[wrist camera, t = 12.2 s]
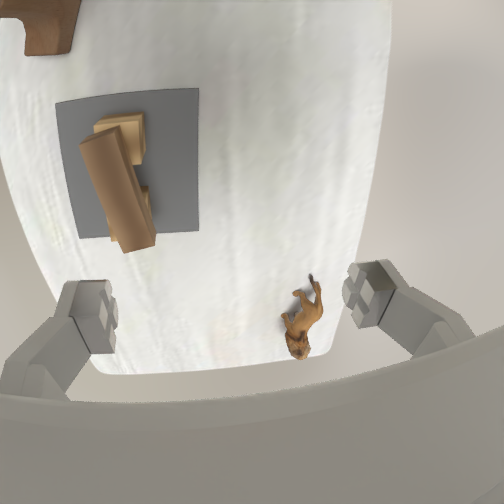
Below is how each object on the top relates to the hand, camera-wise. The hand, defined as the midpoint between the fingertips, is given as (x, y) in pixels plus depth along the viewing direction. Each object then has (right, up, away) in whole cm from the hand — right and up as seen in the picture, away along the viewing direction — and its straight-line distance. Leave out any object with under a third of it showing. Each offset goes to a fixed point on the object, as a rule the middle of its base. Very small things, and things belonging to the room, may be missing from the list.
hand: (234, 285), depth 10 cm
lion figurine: (+9, -9, +49) cm, 51 cm away
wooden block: (-22, +28, +13) cm, 38 cm away
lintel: (-14, +9, +23) cm, 28 cm away
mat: (-15, +12, +27) cm, 33 cm away
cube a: (-15, +16, +24) cm, 32 cm away
